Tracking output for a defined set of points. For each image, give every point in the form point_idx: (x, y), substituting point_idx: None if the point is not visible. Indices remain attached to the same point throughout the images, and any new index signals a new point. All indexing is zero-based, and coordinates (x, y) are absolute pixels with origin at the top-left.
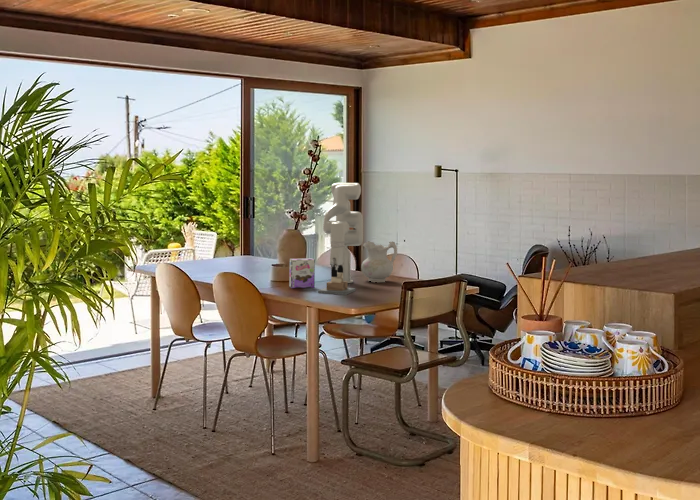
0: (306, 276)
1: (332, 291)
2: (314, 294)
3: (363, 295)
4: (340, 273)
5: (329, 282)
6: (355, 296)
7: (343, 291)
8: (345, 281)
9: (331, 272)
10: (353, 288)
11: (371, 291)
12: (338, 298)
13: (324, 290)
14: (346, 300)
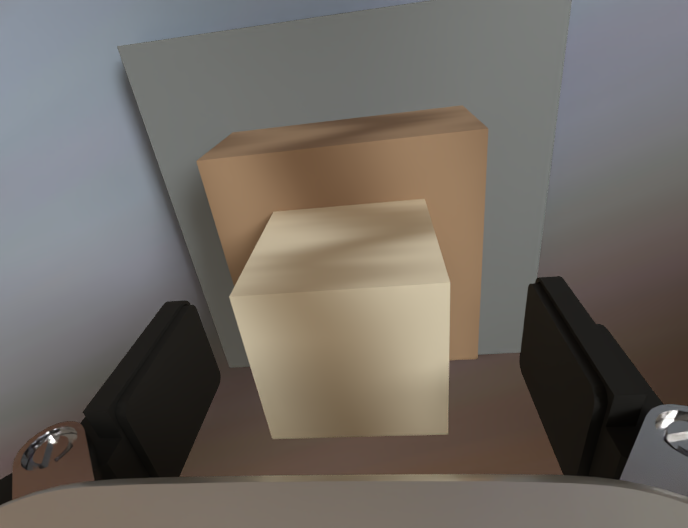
0: None
1: (187, 242)
2: (11, 62)
3: (288, 451)
4: (309, 435)
5: (239, 195)
6: (206, 427)
7: (241, 340)
8: (467, 338)
9: (129, 355)
10: (498, 343)
11: (533, 437)
12: (26, 371)
13: (164, 136)
14: (6, 436)
